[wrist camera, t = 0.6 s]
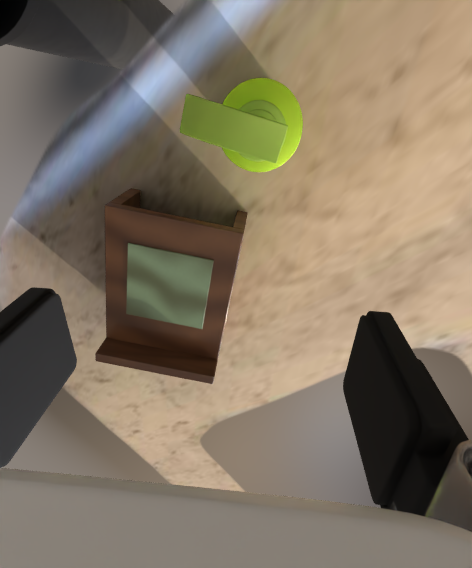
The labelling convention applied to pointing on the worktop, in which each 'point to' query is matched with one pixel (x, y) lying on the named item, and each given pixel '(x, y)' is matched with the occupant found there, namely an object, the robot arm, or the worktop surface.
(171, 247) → the wooden picture frame
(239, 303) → the worktop surface
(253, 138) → the soap dispenser
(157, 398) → the worktop surface
